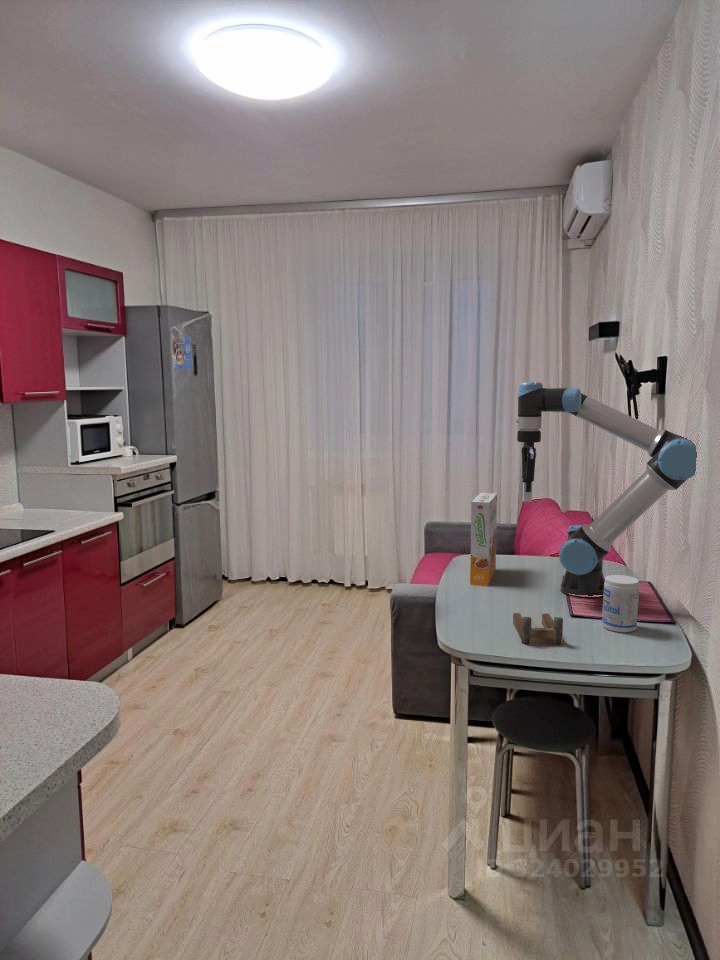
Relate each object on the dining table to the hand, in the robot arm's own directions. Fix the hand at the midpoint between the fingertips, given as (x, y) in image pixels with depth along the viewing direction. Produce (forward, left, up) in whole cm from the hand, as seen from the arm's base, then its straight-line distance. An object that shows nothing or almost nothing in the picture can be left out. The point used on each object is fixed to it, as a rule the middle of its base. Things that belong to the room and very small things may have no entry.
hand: (527, 501), depth 230 cm
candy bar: (+4, +32, -33) cm, 46 cm away
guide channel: (+3, +35, -32) cm, 48 cm away
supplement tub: (-22, +30, -33) cm, 49 cm away
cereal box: (+11, -24, -33) cm, 42 cm away
